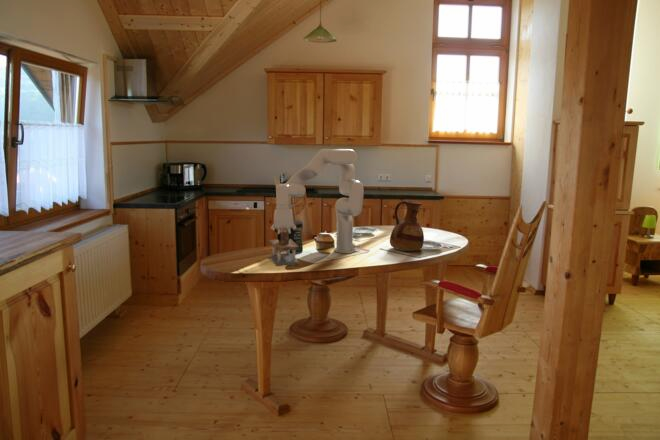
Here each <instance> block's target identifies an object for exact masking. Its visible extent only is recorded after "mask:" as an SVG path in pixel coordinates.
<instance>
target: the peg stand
mask: <svg viewBox="0 0 660 440" xmlns="http://www.w3.org/2000/svg"><path fill="white" fill-rule="evenodd" d="M269 259H270V260H271V259H272V260H271V261H272V263H273V264H274V265H275V266H276V267H284V266H283V265H285V266H296V265H299V264H300V260H299V261H298V259H297V258H296V253H295V250H292V253H290V250H287V252H286V253H282V250H279V251H277V252H276V250H275V248H274V247H273V246H272V254H269Z"/></svg>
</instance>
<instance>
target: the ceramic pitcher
mask: <svg viewBox="0 0 660 440" xmlns="http://www.w3.org/2000/svg"><path fill="white" fill-rule="evenodd" d="M402 204H405V205H406V209H407V210H406V214H405V217H404V218H403V219H401V220H400V219H399V218H398V209H399V207H400V206H401V205H402ZM423 204H424V203H423V202H419V201H416V200H413V199H412V200H411V199H404V200H402V201H400V202H399V203H397V204H396V206H395V208H394V217H395V221H396V222H395V223H396V224H395V225H394V227H393V229H392V231H391V234H390V238H389V244H390V246H391V247H392V248H393V249H395V250H397V251H401V252H411V251H413V252H414V251H419V250H421V249H422V248H423V246H424V243H425V242H424V241H425V234H424V230H423V228H422V226H421V224H420V223H419V222H418V218H417V216H418V213H419V208H420V207H421V206H422V205H423Z"/></svg>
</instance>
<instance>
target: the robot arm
mask: <svg viewBox="0 0 660 440" xmlns="http://www.w3.org/2000/svg"><path fill="white" fill-rule="evenodd" d="M357 158H358V157H357V152H356V151H355V150H354V149H351V148H335V149H333V148H322V149H320V150H319V151H318V152H317V153H316V154H315V155H314V157H313V158H311V160H310V161H309V162H308V164H307V165H305V166H304V167H303V168H301V169H299V170H298V171H297V172H295V173H294V174H292V175H291V177H289V179H287V181H286V182H285V183H277V185H276V188H275V193H276V197H275V198H276V199H275V200H276V204H275V205H276V207H275V208H276V209H274V212H273V224H272V225H271V226H270V230H272V231H273V232H275V233H276V234H277V235H276V237H277V239H276V240H279V241H281V234H280V231H281V229H286V228H287V230H286V231H288V233H289V239H290V233H291V232H292V231H293V230H294V229H295V228H296V225H295V224H294V223H293V221H294V216H293V209H292V208H294V205H293V204H291V198H302V197H304V195H305V194H306V187H305V186H304V185H303V183H305V182H308V181H310V180H313V179H315V178H317V177H319V176H320V174H321V173H322V172H323V171H324V170H325V168H326V167H327V166H328V165H331V166H338V167H339V184H338V191H339V193H340V195H343V196H348V197H340V198H338V199H337V200H336V202H335V204H334V205H335V207H334V208H335V209H334V210H335V215H336V247H334V248H333V252H334V253H338V254H351V253H355V252H356V248H358V249H359V248H360V249H361V245H362V244H357V243H353V240H354V238H353V237H354V235H353V233H354V219H353V218H354V217H357V216H359V215H360V214H361V213H362V211H363V203H364V191H365V190H364V189H365V188H364V185H363V183H362V182H361V181H359V180H357V179H356V177H355V174H356V172H355V166H354V163H355V162H356V161H357ZM290 228H291V229H290Z"/></svg>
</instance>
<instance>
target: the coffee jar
mask: <svg viewBox="0 0 660 440" xmlns="http://www.w3.org/2000/svg"><path fill="white" fill-rule="evenodd" d="M293 223H294V224H295V225H296V228H295V229H294V230H293V231H292V232H291V233H290V239H291V240H292V241H294V242H295V243H296V244H297V245H298V246H299V249H296V250H295V254H300V253H302V252H303V249H304V248H303V247H304V246H303V237H302V233H303V228H304V226H303V221H300V220H293ZM285 229H286V230H285V231H287V228H285ZM290 229H291V228H290ZM287 232H288V231H287ZM285 252H286V253H287V250H285ZM290 253H291V254H292V250H290Z"/></svg>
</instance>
